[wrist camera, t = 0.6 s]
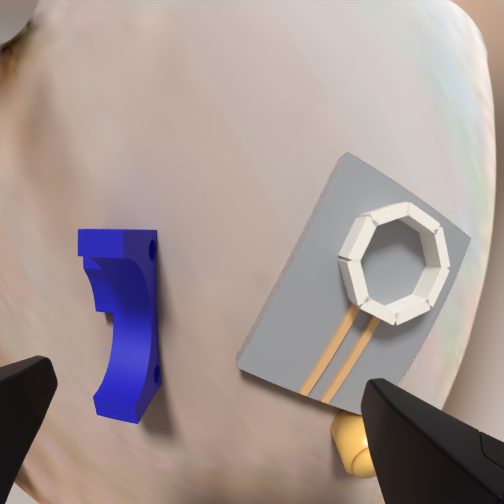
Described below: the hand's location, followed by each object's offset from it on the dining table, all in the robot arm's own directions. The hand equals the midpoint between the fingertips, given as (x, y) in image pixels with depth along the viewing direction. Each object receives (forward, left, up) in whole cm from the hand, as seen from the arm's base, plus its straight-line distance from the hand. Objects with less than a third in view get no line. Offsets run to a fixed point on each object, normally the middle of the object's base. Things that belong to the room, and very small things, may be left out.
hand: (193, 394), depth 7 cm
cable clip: (-5, +6, -14) cm, 16 cm away
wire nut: (-6, -15, -14) cm, 21 cm away
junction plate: (+4, -9, -14) cm, 17 cm away
